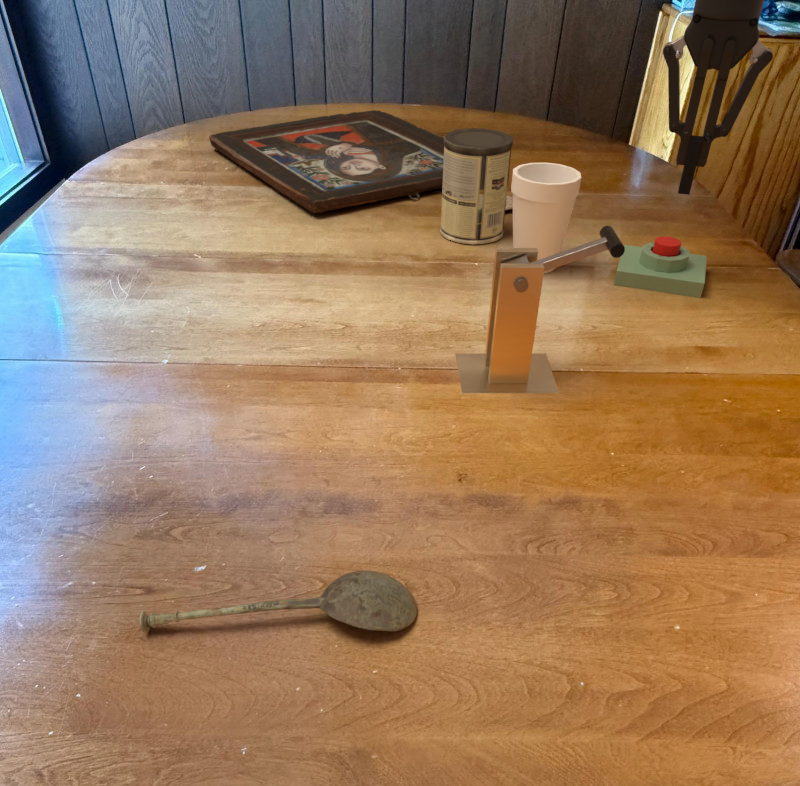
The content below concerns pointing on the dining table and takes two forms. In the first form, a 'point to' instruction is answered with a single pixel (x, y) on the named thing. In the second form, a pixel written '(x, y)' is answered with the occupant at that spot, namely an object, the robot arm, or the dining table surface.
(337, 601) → the soupspoon
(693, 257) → the button box
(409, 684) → the dining table surface
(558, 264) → the lever
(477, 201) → the coffee can
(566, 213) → the foam cup
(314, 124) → the religious icon
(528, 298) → the bracket
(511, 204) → the flatbread
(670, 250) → the button
